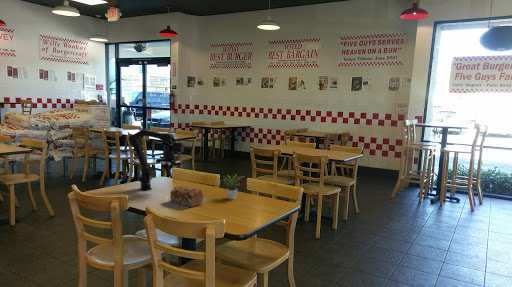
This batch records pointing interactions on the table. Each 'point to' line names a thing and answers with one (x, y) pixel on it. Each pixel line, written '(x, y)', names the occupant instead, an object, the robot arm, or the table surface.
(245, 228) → the table surface
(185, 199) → the bread
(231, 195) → the house plant
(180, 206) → the serving mat
